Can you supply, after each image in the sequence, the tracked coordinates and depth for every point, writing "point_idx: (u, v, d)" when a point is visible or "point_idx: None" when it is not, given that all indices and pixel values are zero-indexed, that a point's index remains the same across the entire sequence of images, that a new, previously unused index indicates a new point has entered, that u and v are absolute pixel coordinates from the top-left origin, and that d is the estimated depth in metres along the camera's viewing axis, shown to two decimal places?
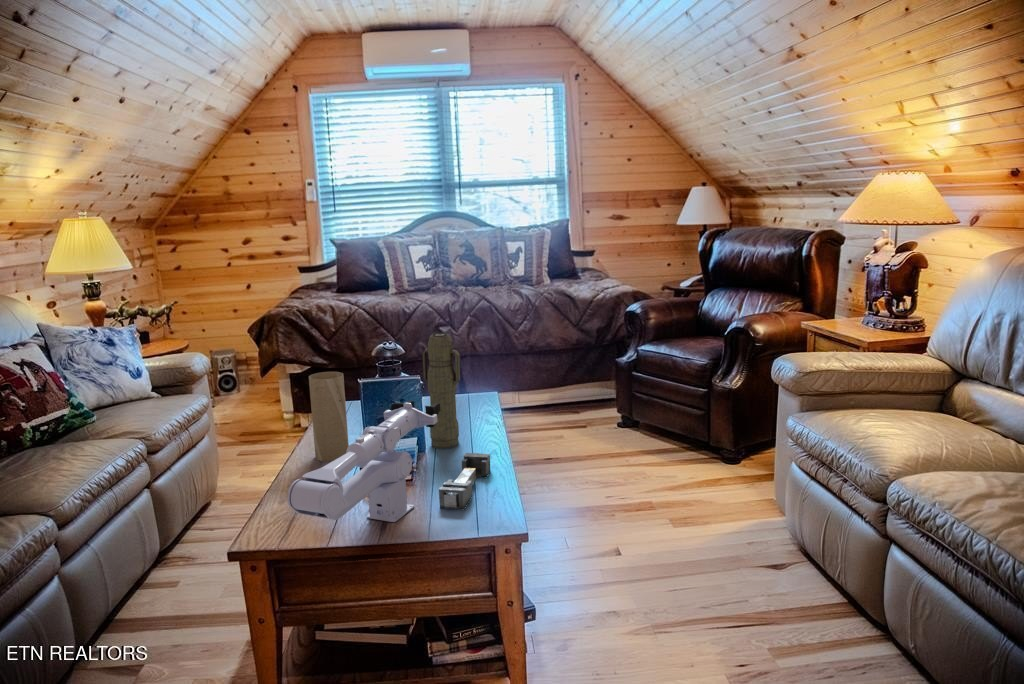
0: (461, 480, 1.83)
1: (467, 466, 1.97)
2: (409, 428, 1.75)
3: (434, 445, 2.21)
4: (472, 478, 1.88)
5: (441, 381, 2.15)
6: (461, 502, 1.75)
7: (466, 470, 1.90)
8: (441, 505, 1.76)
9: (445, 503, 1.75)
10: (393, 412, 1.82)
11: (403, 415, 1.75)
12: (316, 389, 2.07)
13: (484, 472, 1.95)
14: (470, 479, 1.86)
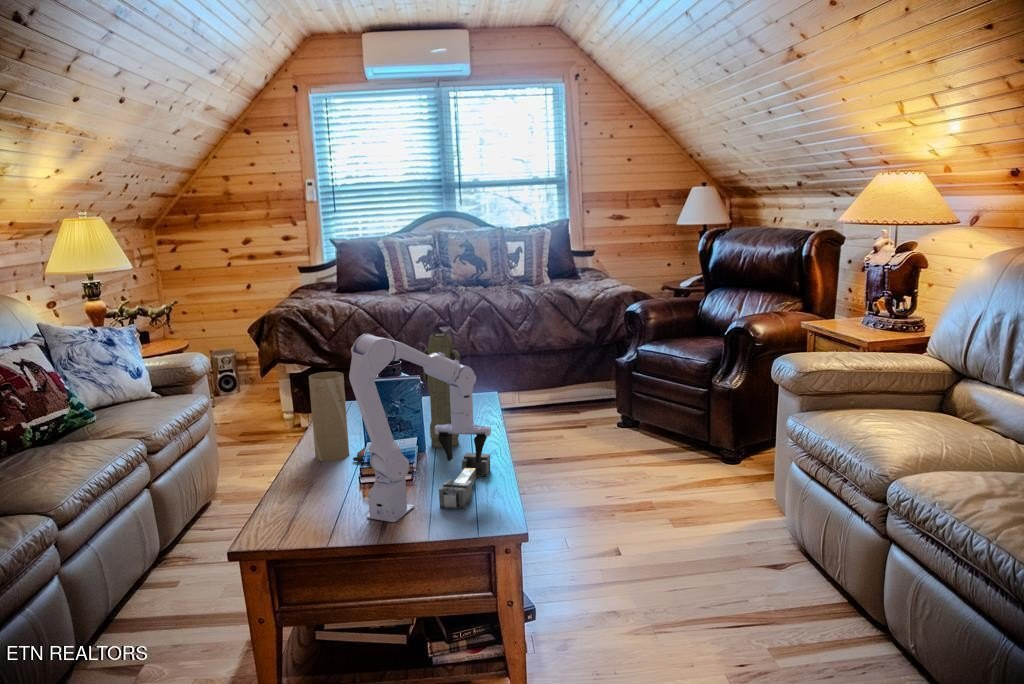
0: (461, 480, 1.83)
1: (467, 466, 1.97)
2: (471, 411, 1.82)
3: (434, 445, 2.21)
4: (472, 478, 1.88)
5: (441, 381, 2.15)
6: (461, 502, 1.75)
7: (466, 470, 1.90)
8: (441, 505, 1.76)
9: (445, 503, 1.75)
10: (447, 425, 1.86)
11: None
12: (316, 389, 2.07)
13: (484, 472, 1.95)
14: (470, 479, 1.86)
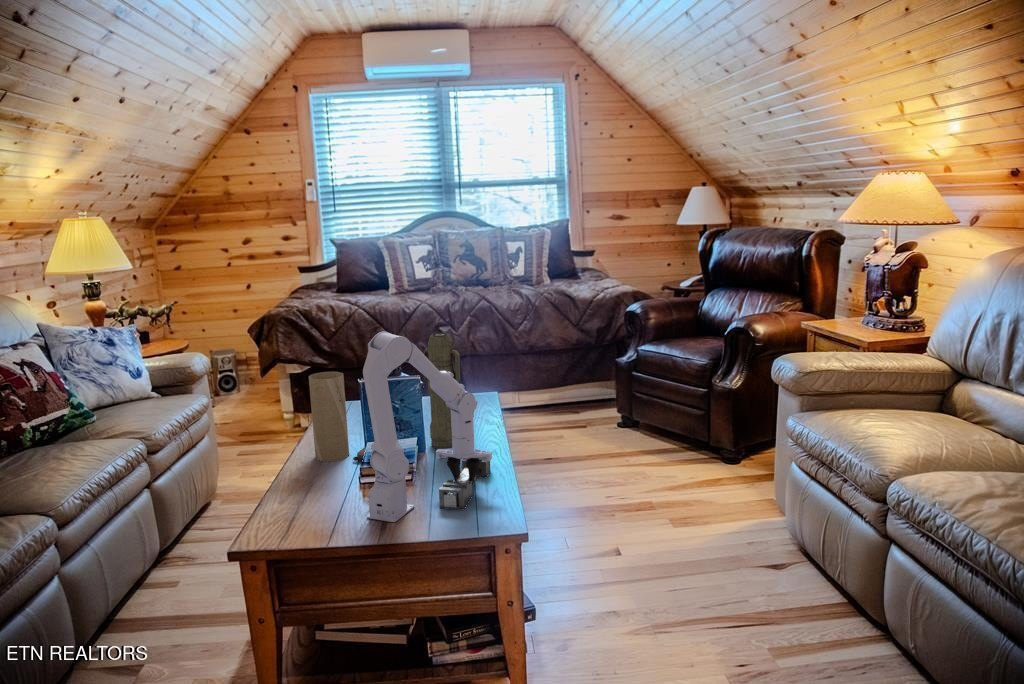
0: (461, 480, 1.83)
1: (467, 466, 1.97)
2: (472, 437, 1.83)
3: (434, 445, 2.21)
4: None
5: None
6: (461, 502, 1.75)
7: (466, 470, 1.90)
8: (441, 505, 1.76)
9: (445, 503, 1.75)
10: (448, 450, 1.87)
11: None
12: (316, 389, 2.07)
13: (484, 472, 1.95)
14: None
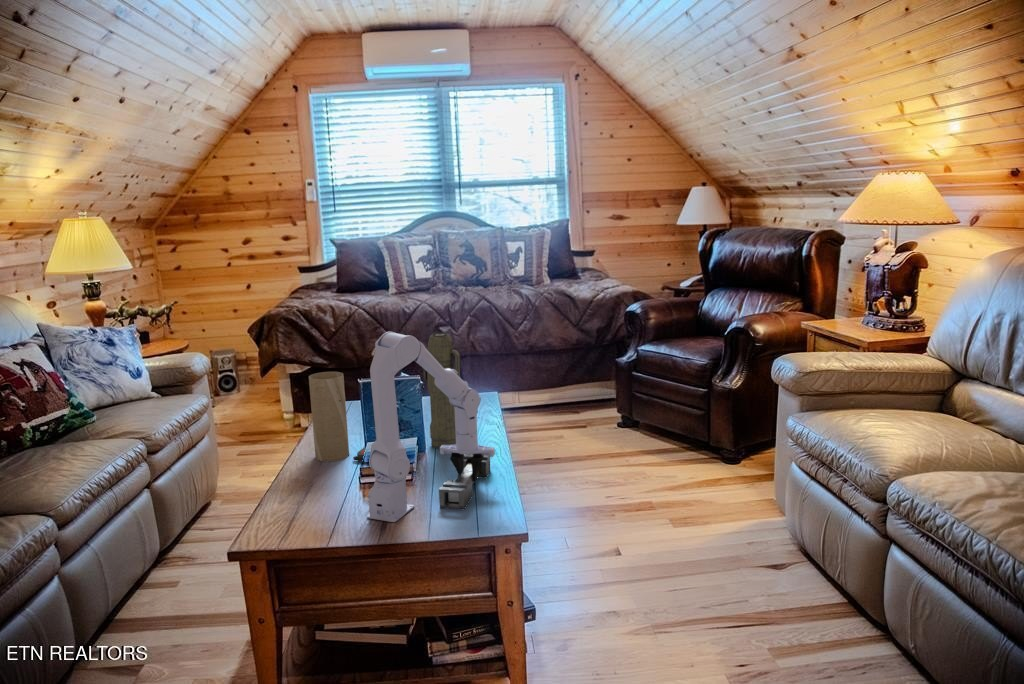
0: (465, 475, 1.86)
1: None
2: (475, 433, 1.86)
3: (434, 445, 2.21)
4: None
5: None
6: (461, 502, 1.75)
7: (470, 466, 1.93)
8: (441, 505, 1.76)
9: (449, 498, 1.78)
10: (452, 446, 1.90)
11: None
12: (316, 389, 2.07)
13: (484, 472, 1.95)
14: None
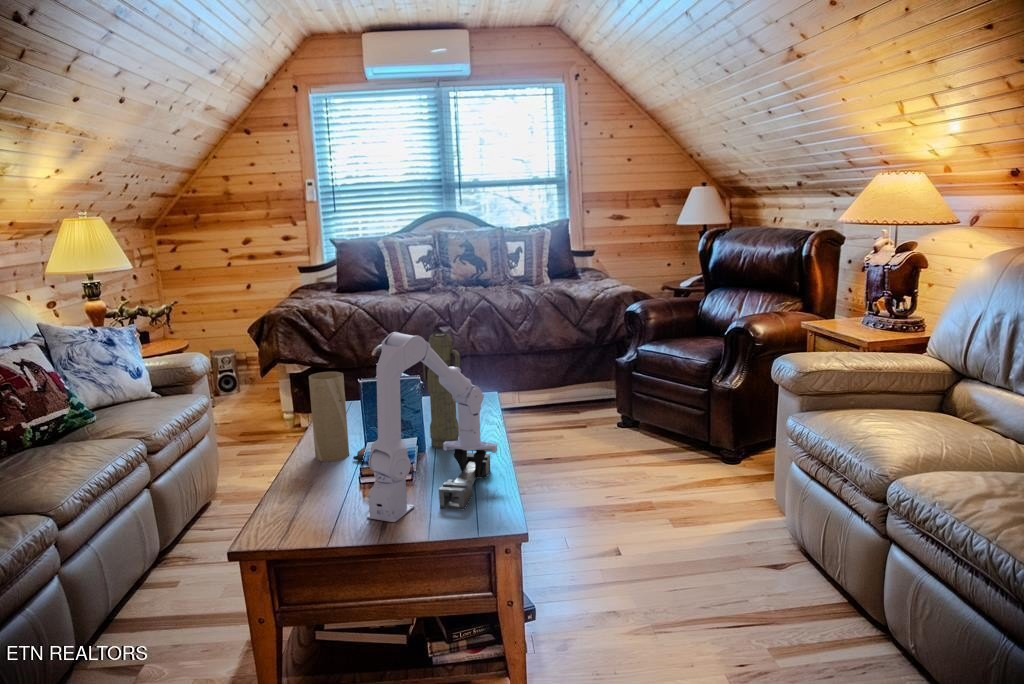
0: (468, 471, 1.89)
1: None
2: (478, 429, 1.89)
3: (434, 445, 2.21)
4: None
5: None
6: (461, 502, 1.75)
7: (473, 462, 1.96)
8: (441, 505, 1.76)
9: (452, 493, 1.80)
10: (455, 442, 1.93)
11: None
12: (316, 389, 2.07)
13: (484, 472, 1.95)
14: None
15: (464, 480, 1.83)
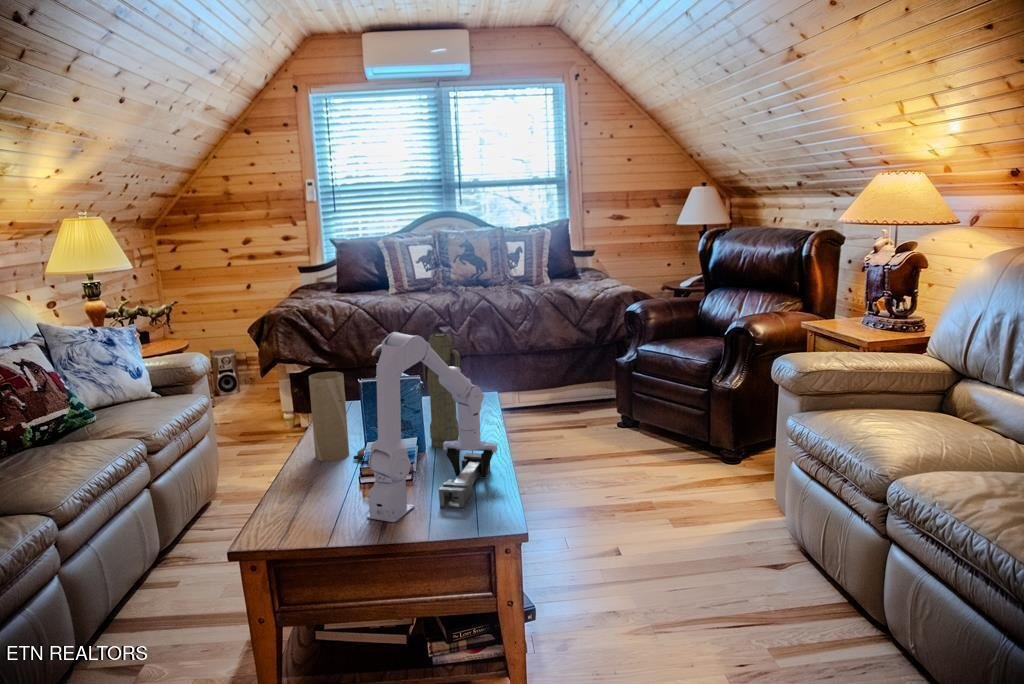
0: (468, 471, 1.89)
1: None
2: (478, 429, 1.89)
3: (434, 445, 2.21)
4: (478, 469, 1.94)
5: None
6: (461, 502, 1.75)
7: (473, 462, 1.96)
8: (441, 505, 1.76)
9: (452, 493, 1.80)
10: (455, 442, 1.93)
11: None
12: (316, 389, 2.07)
13: None
14: (476, 470, 1.92)
15: (464, 480, 1.83)
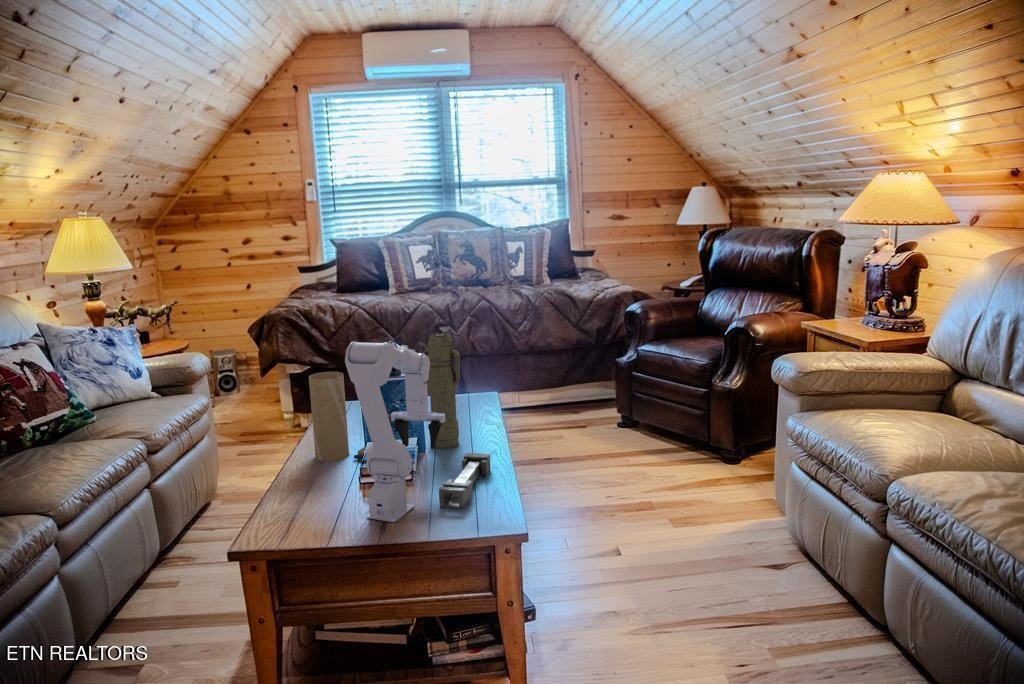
0: (468, 471, 1.89)
1: None
2: (425, 399, 1.86)
3: None
4: (478, 469, 1.94)
5: (441, 381, 2.15)
6: (461, 502, 1.75)
7: (473, 462, 1.96)
8: (441, 505, 1.76)
9: (452, 493, 1.80)
10: (403, 413, 1.90)
11: None
12: (316, 389, 2.07)
13: (484, 472, 1.95)
14: (476, 470, 1.92)
15: (464, 480, 1.83)
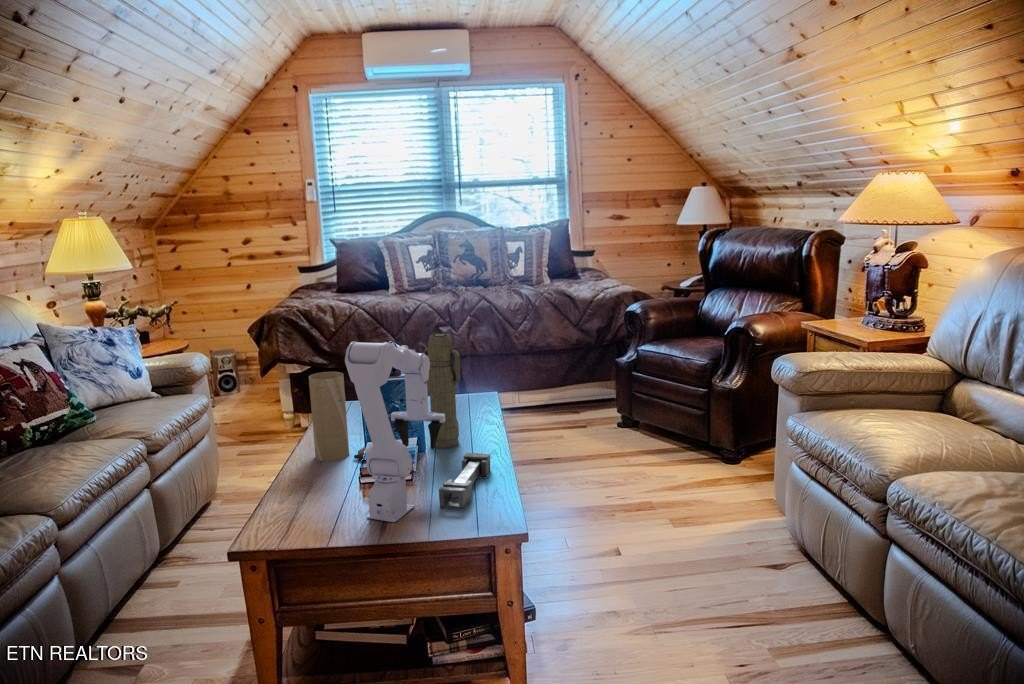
0: (468, 471, 1.89)
1: None
2: (425, 399, 1.86)
3: None
4: (478, 469, 1.94)
5: (441, 381, 2.15)
6: (461, 502, 1.75)
7: (473, 462, 1.96)
8: (441, 505, 1.76)
9: (452, 493, 1.80)
10: (403, 413, 1.90)
11: None
12: (316, 389, 2.07)
13: (484, 472, 1.95)
14: (476, 470, 1.92)
15: (464, 480, 1.83)
